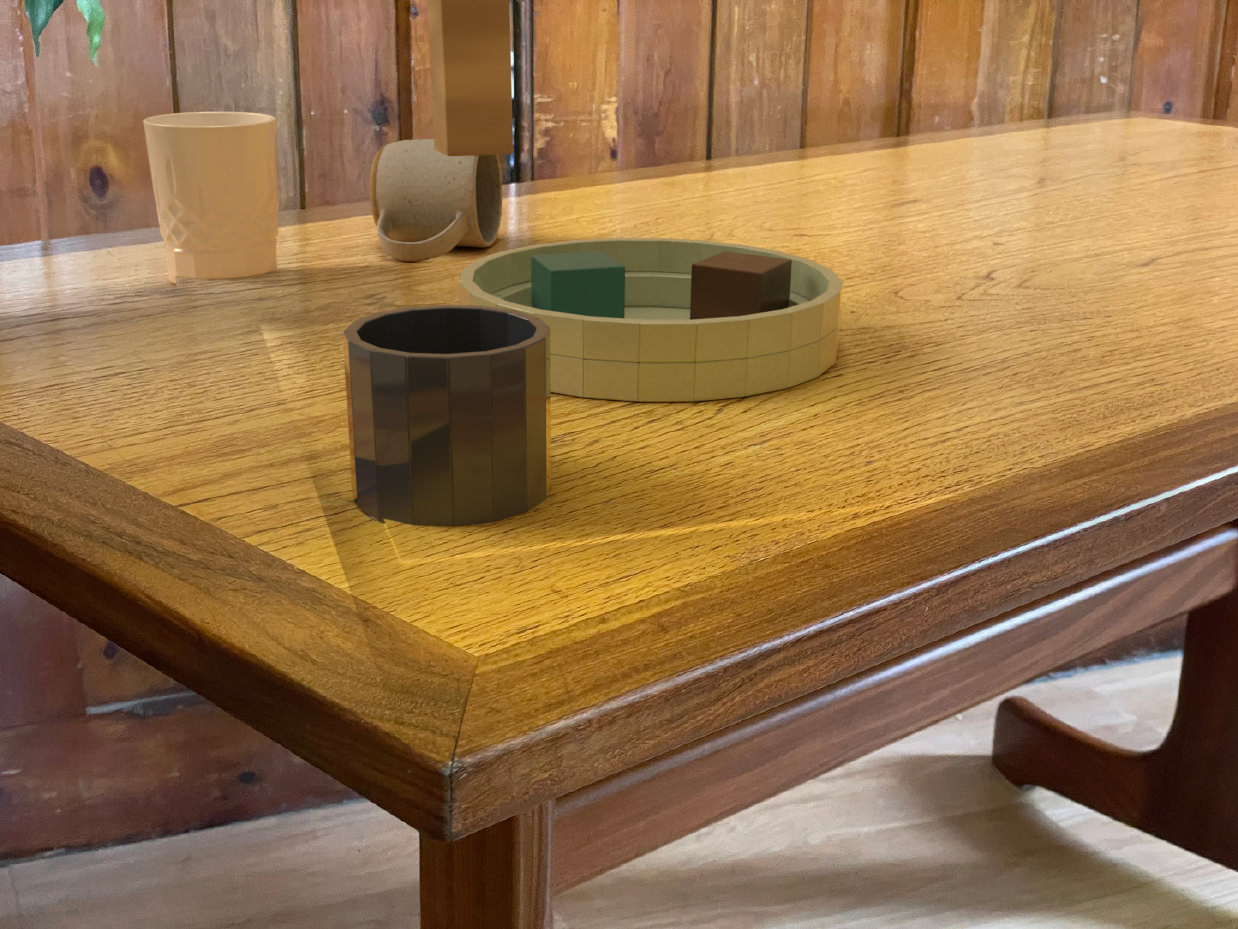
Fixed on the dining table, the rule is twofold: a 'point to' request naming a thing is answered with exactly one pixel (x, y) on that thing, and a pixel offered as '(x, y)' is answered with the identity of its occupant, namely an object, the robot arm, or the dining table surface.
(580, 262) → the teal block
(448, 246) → the ceramic mug
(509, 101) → the brown stick
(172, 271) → the tan cup
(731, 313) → the walnut block
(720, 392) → the bowl
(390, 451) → the stick cup
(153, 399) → the dining table surface
